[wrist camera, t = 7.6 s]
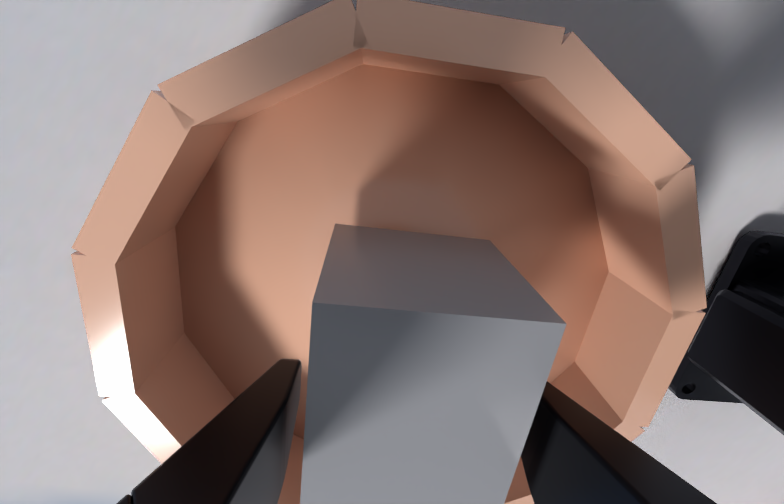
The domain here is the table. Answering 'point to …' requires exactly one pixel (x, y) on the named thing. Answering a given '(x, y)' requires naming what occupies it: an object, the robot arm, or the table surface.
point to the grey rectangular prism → (421, 370)
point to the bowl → (384, 208)
